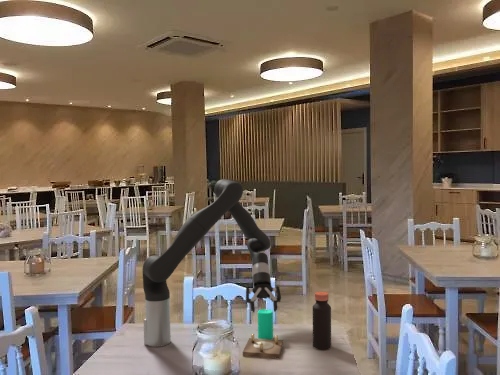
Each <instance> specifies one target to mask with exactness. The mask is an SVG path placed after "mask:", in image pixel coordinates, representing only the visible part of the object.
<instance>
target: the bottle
mask: <svg viewBox="0 0 500 375" xmlns="http://www.w3.org/2000/svg"><path fill="white" fill-rule="evenodd" d="M314 300H315V303H314V304H312V347H313V348H314V349H316V350H319V351H327V350H329V349H331V347H332V307H331V305H330V304H329V303H328V302H329V293H328V292H325V291H317V292H315V293H314Z"/></svg>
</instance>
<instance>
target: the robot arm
mask: <svg viewBox="0 0 500 375" xmlns="http://www.w3.org/2000/svg"><path fill="white" fill-rule="evenodd" d="M213 192H214V195H215V198H216V199H215V200H214V201H213V202H211V204H209V205H207V206H206V207H203V208H201V209H199V210H198V211H196V212H195V213H193V214H192V215H191V216H190V217H189V218H188V219H187V220H185V222H184V223H183V224H182V225H181V227H180V228H179V229H178V231H177V233H176V235H175V238H174V240H173V241H172V243H171V244H170V246H168V248H167V249H166V250H165V251H164V252H163V253H161V255H155V254H154V255H150V256H148V257H147V258H146V259H145V260H144V262H143V265H142V285H143V286H142V288H143V291H144V299H145V300H144V302H145V304H144V305H145V318H144V319H143V344H144V345H146V346H148V347H153V348H154V347H156V348H157V347H163V346H167V345H169V344H170V343H171V300H170V299H171V298H170V297H171V296H170V294H171V292H170V289H169V287H168V282H167V280H168V279H169V278H170V277H171V276H172V274H173V273H174V272H175V270H177V268H178V266H179V265H180V264H181V262H182V261H183V259H184V258H185V257H186V256H187V255H188V254H190V252H191V251H192V250H193V249H194V248H195V246H196V245H197V244H198V243H199V242H200V241H201V240H202V239H203V238H204V237H205V236H206V234H208V232H210V230H211V229H212V228H213V227H214V226H215V224H217V223H218V221H220V219H222V217H223V216H224V215H225V214H227V212H228V213H230V215H231V217H232V218H233V219H234V221H235V222H236V224H237V225H238V227H239V229H240V230H241V232H242V234H243V235H244V237H245V238H246V239H248V240H247V241H246V247H247V250H248V253H249V255H250V259H251V264H252V271H251V272H252V274H251V277H252V288H250V287H249V286H246V287H245V303H246V304H250V311H251V312H252V313H255V312H256V310H255V302H256V301H257V300H258V299H260V300H261V299H267V300H268V299H269V301H271V302H272V305H273V306H272V307H273V313H275V312H277V311H278V303H280V302H281V300H282V296H281V295H282V294H281V291H280V290H281V289H280V286H279V285H277V286H276V287H272V280H271V279H272V278H271V270H270V266H269V257H268V254H266V253H265V252H266V251H268V250H269V249H270V248H271V246H272V245H271V243H272V242H271V240H270V238H269V236H268V235H267V234H266V233H265V232H264V231H263V230H261V229H260V228H259V226H258V225H257V223H256V221H255V220H254V218H253V216H252V215H251V214H250V213H249V211H247V209H246V208H245V207H244V206H243V205H242V204H241V203H240V202H239V201H240V200H241V199H242V197H243V194H244V187H243V185H242V184H241V183H239V182H237V181H234V180H231V179H224V178H223V179H219V180H218V181H216V183H215V184H214V188H213ZM264 251H265V252H264ZM273 292H274V293H275V294H276V296H275V295H274V293H273ZM251 293H253V296H252V297H251V298H250V295H251Z"/></svg>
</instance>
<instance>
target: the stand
mask: <svg viewBox="0 0 500 375" xmlns="http://www.w3.org/2000/svg"><path fill="white" fill-rule="evenodd" d="M261 342H262V343H263V352H260V343H261ZM283 345H284V339H278V344H275V339H274V338H273V339H258V338H255V337H254V343H251V337H249V338H248V340H247V342H246V344H245V346H244V348H243V351H242V357H254V358H266V359H267V358H269V359H280V356H281V353H282V350H283Z"/></svg>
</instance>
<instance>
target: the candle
mask: <svg viewBox="0 0 500 375" xmlns="http://www.w3.org/2000/svg"><path fill="white" fill-rule="evenodd" d="M257 339H273V340H274V310H272V309H266V308H262V309H259V310H258V311H257Z"/></svg>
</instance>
